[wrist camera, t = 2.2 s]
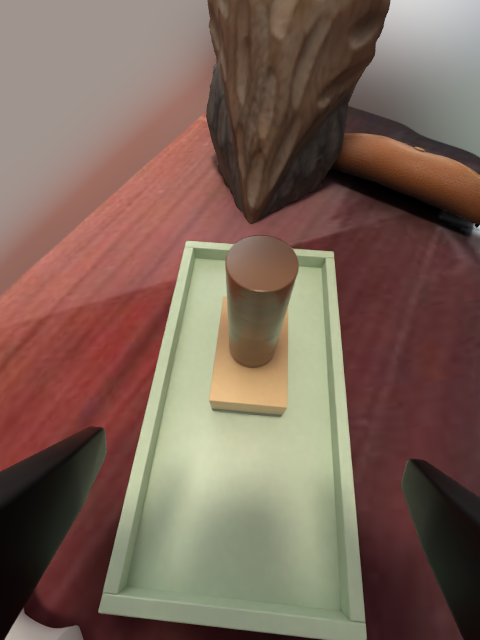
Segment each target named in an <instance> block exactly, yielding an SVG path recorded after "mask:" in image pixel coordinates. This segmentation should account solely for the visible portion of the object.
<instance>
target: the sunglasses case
mask: <svg viewBox="0 0 480 640" xmlns="http://www.w3.org/2000/svg"><path fill="white" fill-rule="evenodd" d="M331 169H334V170H337V171H340V172H344V173H347V174H349V175H353V176H358V177H360V178H362V179H366V180H370V181H375V182H377V183H378V184H380V185H383V186H385V187H388V188H390V189H392V190H394V191H397V192H399V193H402V194H405V195H408V196H411V197H414V198H416V199H418V200H420V201H422V202H424V203H426V204H429V205H432V206H434V207H437V208H440V209H442V210H445V211H447V212H449V213H452V214H454V215H456V216H459V217H462V218H464V219H466V220H468V221H470V222H472V223H475V226H476V228H477V227H478V226H479V225H480V175H479V174H477V173H476V172H474V171H473V170H472V169H470V168H468V167H467V166H465V165H463V164H461V163H459V162H457V161H455V160H452V159H450V158H446V157H443V156H439V155H435V154H432V153H428V152H425V151H424V149H422V148H419V147H415V148H413V147H411V146H408V145H407V144H404V143H401V142H398V141H396V140H393V139H391V138H388V137H384V136H378V135H373V134H361V133H360V134H358V133H357V134H355V133H354V134H344V138H343V143H342V150H341V153H340V155H339V157H338V159H337V160H336V161H335V162H334V164H333V165H332V167H331Z"/></svg>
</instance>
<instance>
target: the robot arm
mask: <svg viewBox="0 0 480 640" xmlns="http://www.w3.org/2000/svg"><path fill="white" fill-rule="evenodd" d="M106 451H107V449H106V433H105V429H104V428H102V427H94V426H91V427H88V428H86V429H84V430H82V431H80V432H78V433H76V434H74V435H72V436H70V437H68V438H66V439H64V440H62V441H60V442H58V443H56V444H54V445H52V446H50V447H48V448H46V449H44V450H43V451H41V452H39V453H37V454H35V455H33V456H31V457H29V458H27V459H25V460H23V461H21V462H19V463H17V464H15V465H13V466H11V467H9V468H7V469H5V470H3V471H1V472H0V640H5V638H6V636H7V635H8V633H9V631H10V630H11V628H12V626H13V624H14V623H15V621H16V619H17V618H18V616H19V614H20V613H21V611H22V609H23V607H24V606H25V604H26V602H27V601H28V599H29V597H30V596H31V594H32V592H33V590H34V589H35V587H36V585H37V584H38V582H39V580H40V579H41V577H42V575H43V573H44V572H45V570H46V568H47V567H48V565H49V563H50V562H51V560H52V558H53V556H54V555H55V553H56V551H57V550H58V548H59V546H60V545H61V543H62V541H63V539H64V538H65V536H66V534H67V533H68V531H69V529H70V528H71V526H72V524H73V522H74V521H75V519H76V517H77V515H78V514H79V512H80V510H81V508H82V506H83V504H84V502H85V500H86V498H87V496H88V494H89V491H90V489H91V487H92V485H93V483H94V481H95V479H96V476H97V474H98V472H99V470H100V468H101V466H102V464H103V461H104V459H105V456H106ZM401 486H402V491H403V494H404V497H405V500H406V503H407V505H408V508H409V511H410V514H411V517H412V520H413V523H414V526H415V528H416V531H417V534H418V537H419V540H420V542H421V545H422V548H423V550H424V552H425V555H426V557H427V559H428V562H429V564H430V566H431V568H432V570H433V573H434V575H435V577H436V579H437V582H438V584H439V586H440V588H441V590H442V593H443V595H444V597H445V599H446V602H447V604H448V606H449V608H450V610H451V613H452V615H453V617H454V619H455V622H456V624H457V626H458V628H459V630H460V633H461V635H462V637H463V639H464V640H480V498H479V497H478V496H476V495H475V494H473V493H472V492H471V491H469V490H468V489H466V488H465V487H463V486H462V485H460V484H459V483H457V482H456V481H454V480H453V479H451V478H450V477H448V476H447V475H446V474H444V473H443V472H441V471H440V470H438V469H437V468H435V467H434V466H432V465H431V464H429V463H428V462H426V461H425V460H420V459H409V460H408V461H407V463H406V467H405V470H404V474H403V477H402V482H401Z"/></svg>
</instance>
